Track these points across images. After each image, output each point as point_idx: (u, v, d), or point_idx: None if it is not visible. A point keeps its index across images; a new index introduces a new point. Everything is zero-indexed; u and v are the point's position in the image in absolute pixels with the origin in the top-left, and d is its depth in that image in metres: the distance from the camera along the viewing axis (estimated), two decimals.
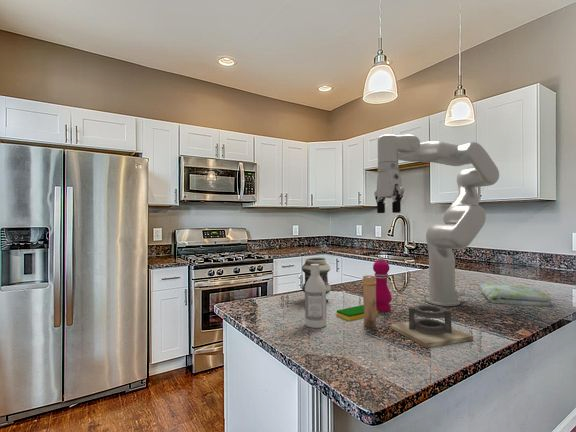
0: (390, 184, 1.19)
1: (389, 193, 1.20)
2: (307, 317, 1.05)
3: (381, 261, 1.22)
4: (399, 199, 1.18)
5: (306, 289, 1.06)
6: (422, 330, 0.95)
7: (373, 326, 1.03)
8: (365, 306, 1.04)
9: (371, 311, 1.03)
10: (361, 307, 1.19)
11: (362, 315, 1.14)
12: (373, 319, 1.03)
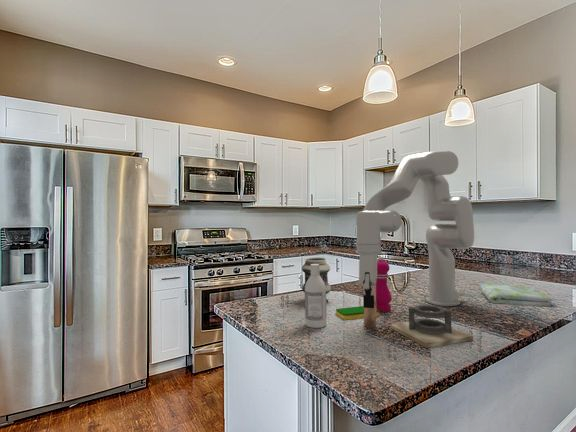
0: None
1: None
2: (307, 317, 1.05)
3: (381, 261, 1.22)
4: None
5: (306, 289, 1.06)
6: (422, 330, 0.95)
7: (373, 326, 1.03)
8: None
9: (371, 311, 1.03)
10: None
11: (360, 315, 1.13)
12: (373, 319, 1.03)
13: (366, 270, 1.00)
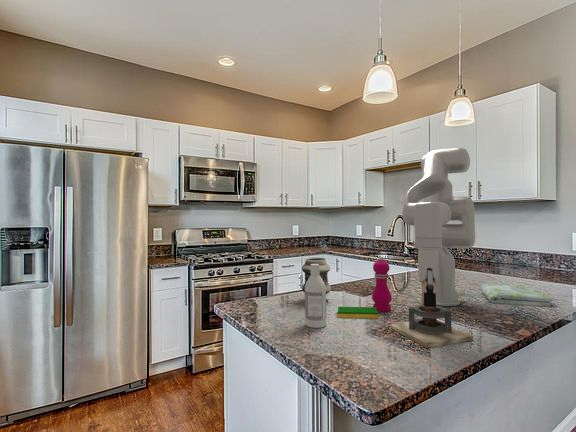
0: None
1: None
2: (307, 317, 1.05)
3: (381, 261, 1.22)
4: None
5: (306, 289, 1.06)
6: (422, 330, 0.95)
7: None
8: (425, 308, 0.96)
9: None
10: (365, 308, 1.18)
11: (355, 315, 1.14)
12: (434, 323, 0.95)
13: (428, 266, 0.93)
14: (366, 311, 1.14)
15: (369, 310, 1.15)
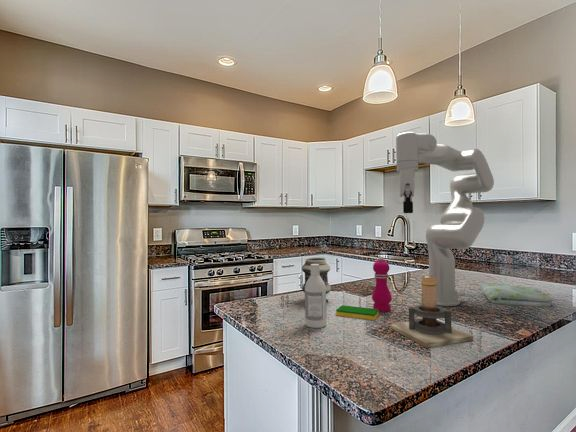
0: None
1: None
2: (307, 317, 1.05)
3: (381, 261, 1.22)
4: None
5: (306, 289, 1.06)
6: (422, 330, 0.95)
7: None
8: (425, 308, 0.96)
9: None
10: (366, 309, 1.17)
11: (352, 315, 1.14)
12: (434, 322, 0.95)
13: (406, 182, 1.15)
14: (364, 312, 1.14)
15: (367, 311, 1.14)
